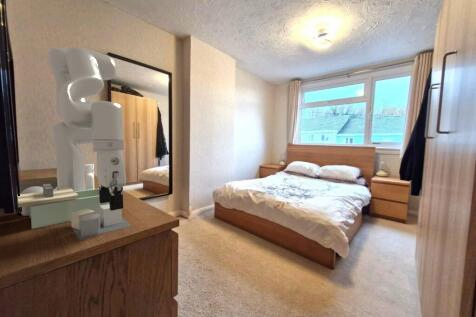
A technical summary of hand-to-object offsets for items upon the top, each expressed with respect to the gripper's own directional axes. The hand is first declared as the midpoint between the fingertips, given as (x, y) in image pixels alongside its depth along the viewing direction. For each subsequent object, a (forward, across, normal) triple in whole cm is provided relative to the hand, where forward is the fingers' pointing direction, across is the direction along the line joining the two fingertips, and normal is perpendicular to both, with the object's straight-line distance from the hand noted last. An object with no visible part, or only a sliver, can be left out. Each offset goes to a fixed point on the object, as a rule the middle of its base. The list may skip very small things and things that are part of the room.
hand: (111, 205), depth 59 cm
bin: (+5, +16, +6) cm, 18 cm away
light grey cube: (+5, -3, +6) cm, 8 cm away
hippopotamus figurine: (+5, +27, +12) cm, 30 cm away
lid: (-2, +16, +12) cm, 20 cm away
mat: (+6, 0, +2) cm, 6 cm away
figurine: (+5, +29, -1) cm, 30 cm away
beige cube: (+5, +3, +6) cm, 8 cm away
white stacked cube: (+5, +1, 0) cm, 5 cm away
